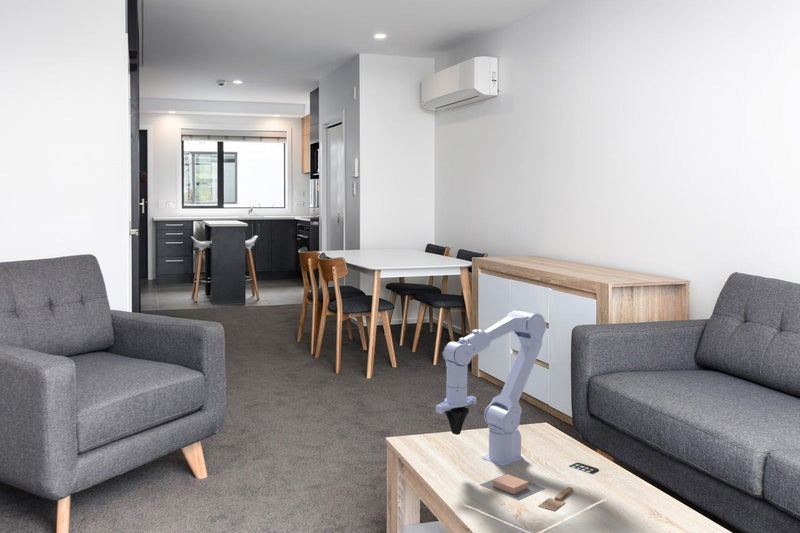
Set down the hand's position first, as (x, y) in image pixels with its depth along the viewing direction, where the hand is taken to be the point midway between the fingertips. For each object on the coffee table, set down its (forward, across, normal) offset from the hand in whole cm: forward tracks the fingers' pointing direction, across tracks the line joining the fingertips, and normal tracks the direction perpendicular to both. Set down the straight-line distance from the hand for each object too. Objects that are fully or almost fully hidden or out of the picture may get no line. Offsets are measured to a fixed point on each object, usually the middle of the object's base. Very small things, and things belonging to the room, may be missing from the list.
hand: (456, 433), depth 198 cm
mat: (+10, -2, +18) cm, 21 cm away
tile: (+9, -4, +18) cm, 21 cm away
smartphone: (+11, -22, +24) cm, 34 cm away
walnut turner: (+10, -3, +32) cm, 33 cm away
